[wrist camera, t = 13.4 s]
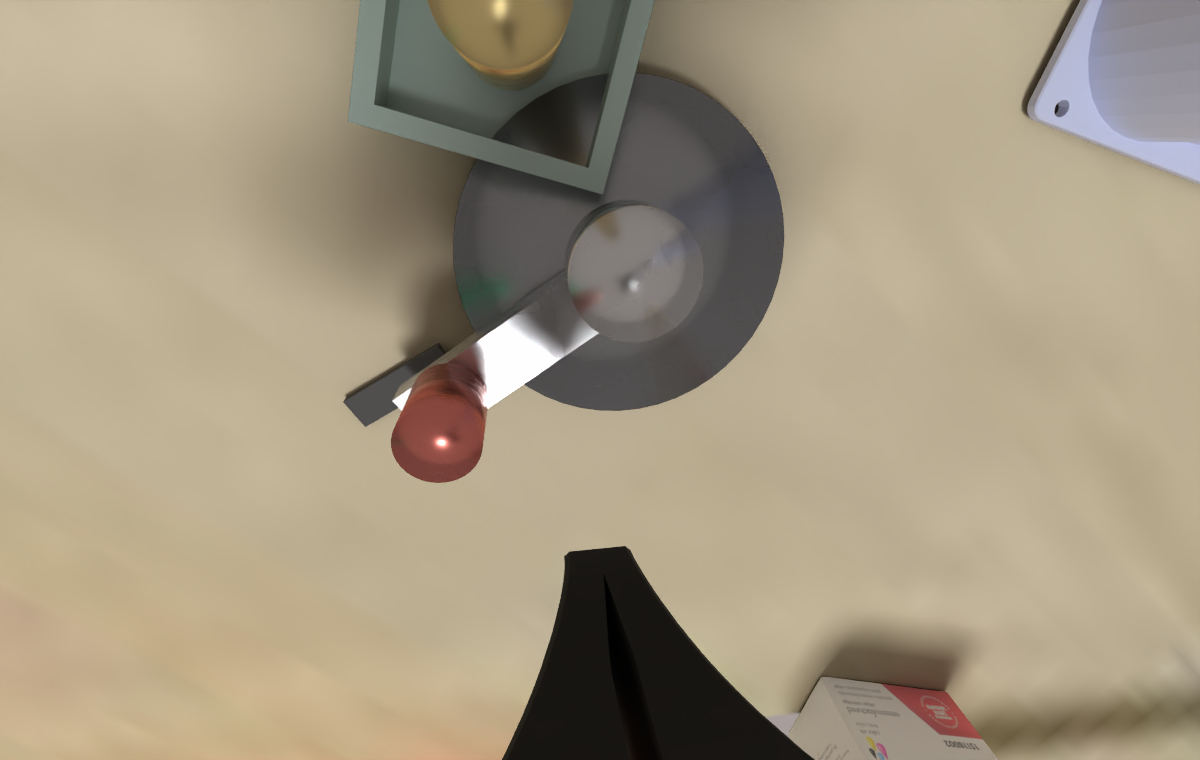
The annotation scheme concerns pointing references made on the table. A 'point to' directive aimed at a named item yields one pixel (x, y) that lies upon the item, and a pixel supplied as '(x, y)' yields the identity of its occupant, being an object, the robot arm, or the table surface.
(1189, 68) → the robot arm
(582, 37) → the tray
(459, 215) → the dark gray disc
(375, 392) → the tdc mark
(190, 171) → the table surface
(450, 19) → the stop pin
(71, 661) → the table surface
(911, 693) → the ink cartridge box
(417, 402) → the crank
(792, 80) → the table surface
